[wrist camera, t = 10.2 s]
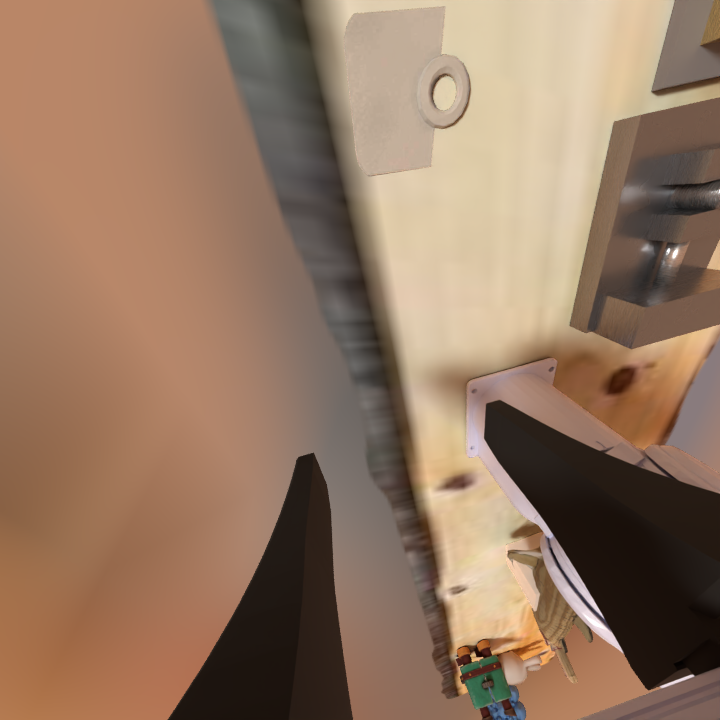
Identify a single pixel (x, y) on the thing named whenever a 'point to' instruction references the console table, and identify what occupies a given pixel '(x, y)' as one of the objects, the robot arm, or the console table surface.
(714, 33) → the wooden hollow block
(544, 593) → the wood carving
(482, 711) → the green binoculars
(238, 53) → the console table surface
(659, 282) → the gray fixture base
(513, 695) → the grapes
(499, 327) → the console table surface
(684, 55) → the rubber mat
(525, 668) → the bunny figurine
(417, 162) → the mounting bracket
